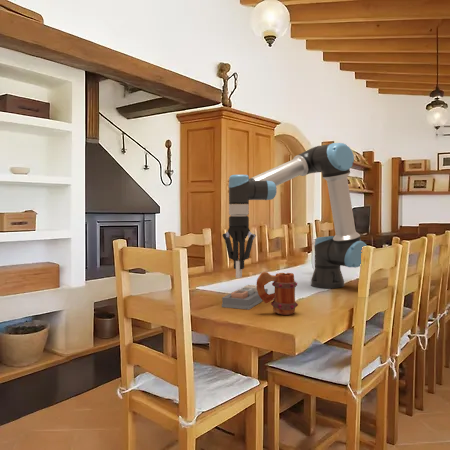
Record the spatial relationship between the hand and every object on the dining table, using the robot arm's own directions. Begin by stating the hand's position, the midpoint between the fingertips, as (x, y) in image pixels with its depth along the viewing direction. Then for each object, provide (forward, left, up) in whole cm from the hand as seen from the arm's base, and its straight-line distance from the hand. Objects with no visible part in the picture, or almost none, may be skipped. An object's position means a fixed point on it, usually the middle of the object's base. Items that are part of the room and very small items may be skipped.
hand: (238, 277), depth 174 cm
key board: (0, -7, -11) cm, 13 cm away
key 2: (0, -7, -8) cm, 11 cm away
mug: (-17, +6, -11) cm, 21 cm away
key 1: (0, -13, -8) cm, 15 cm away
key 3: (0, 0, -8) cm, 8 cm away
